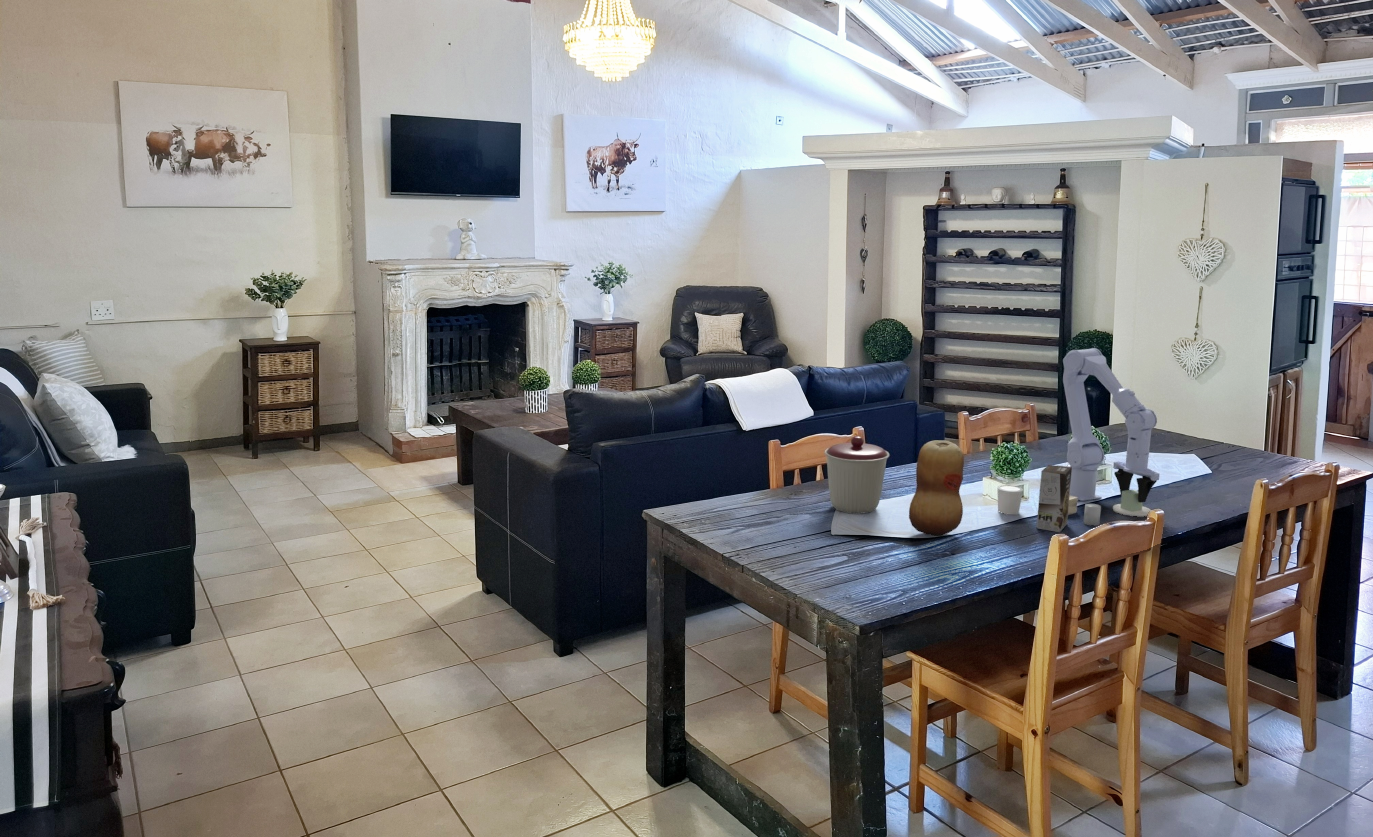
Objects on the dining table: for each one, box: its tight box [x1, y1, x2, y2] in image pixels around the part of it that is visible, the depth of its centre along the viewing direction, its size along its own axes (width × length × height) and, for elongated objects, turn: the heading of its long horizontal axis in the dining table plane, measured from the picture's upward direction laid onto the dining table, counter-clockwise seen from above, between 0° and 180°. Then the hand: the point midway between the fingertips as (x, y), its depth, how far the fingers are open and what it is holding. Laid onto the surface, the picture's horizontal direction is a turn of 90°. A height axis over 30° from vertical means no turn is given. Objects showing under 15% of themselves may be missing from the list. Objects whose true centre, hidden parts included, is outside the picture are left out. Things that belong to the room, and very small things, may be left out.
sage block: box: [1120, 489, 1144, 512], centre depth 288 cm, size 4×4×5 cm
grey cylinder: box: [1083, 503, 1102, 527], centre depth 277 cm, size 4×4×5 cm
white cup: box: [997, 484, 1024, 515], centre depth 287 cm, size 7×7×7 cm
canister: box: [824, 435, 890, 514], centre depth 287 cm, size 18×18×21 cm
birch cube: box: [1068, 496, 1079, 516], centre depth 287 cm, size 4×4×4 cm
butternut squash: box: [908, 439, 965, 537], centre depth 264 cm, size 14×13×25 cm
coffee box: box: [1036, 464, 1072, 533], centre depth 273 cm, size 9×6×16 cm
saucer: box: [1112, 503, 1152, 518], centre depth 288 cm, size 10×10×1 cm
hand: (1133, 499), depth 288 cm, fingers open, 6 cm apart
